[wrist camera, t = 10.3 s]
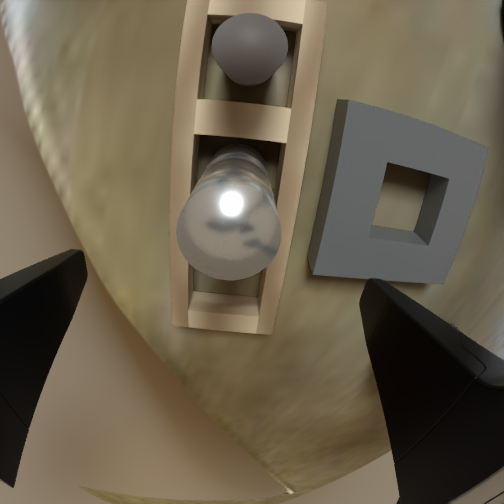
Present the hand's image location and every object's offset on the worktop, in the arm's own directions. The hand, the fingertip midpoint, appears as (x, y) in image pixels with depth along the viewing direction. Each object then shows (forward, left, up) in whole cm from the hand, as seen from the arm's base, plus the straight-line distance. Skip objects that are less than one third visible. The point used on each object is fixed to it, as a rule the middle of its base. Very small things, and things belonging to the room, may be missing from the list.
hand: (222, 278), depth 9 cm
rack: (0, 0, -13) cm, 13 cm away
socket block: (-12, 0, -13) cm, 18 cm away
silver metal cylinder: (0, 0, -13) cm, 13 cm away
